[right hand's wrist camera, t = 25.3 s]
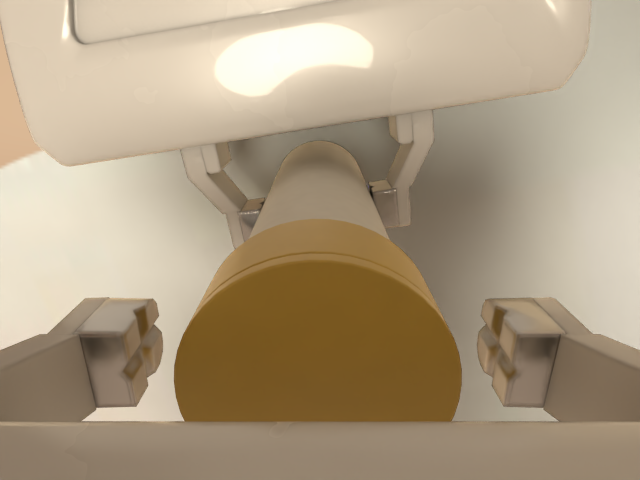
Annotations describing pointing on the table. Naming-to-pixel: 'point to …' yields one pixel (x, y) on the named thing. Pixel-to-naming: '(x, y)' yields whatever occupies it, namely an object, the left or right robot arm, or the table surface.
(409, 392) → the lid
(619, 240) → the table surface
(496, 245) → the table surface
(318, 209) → the jar
